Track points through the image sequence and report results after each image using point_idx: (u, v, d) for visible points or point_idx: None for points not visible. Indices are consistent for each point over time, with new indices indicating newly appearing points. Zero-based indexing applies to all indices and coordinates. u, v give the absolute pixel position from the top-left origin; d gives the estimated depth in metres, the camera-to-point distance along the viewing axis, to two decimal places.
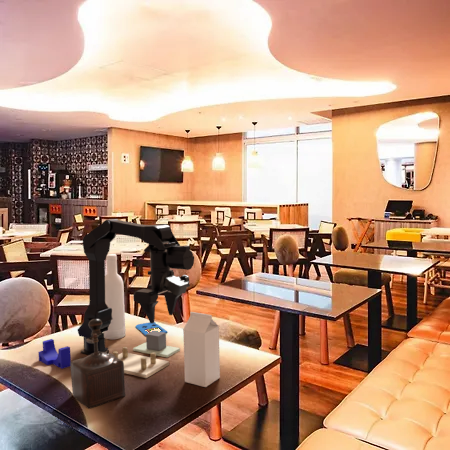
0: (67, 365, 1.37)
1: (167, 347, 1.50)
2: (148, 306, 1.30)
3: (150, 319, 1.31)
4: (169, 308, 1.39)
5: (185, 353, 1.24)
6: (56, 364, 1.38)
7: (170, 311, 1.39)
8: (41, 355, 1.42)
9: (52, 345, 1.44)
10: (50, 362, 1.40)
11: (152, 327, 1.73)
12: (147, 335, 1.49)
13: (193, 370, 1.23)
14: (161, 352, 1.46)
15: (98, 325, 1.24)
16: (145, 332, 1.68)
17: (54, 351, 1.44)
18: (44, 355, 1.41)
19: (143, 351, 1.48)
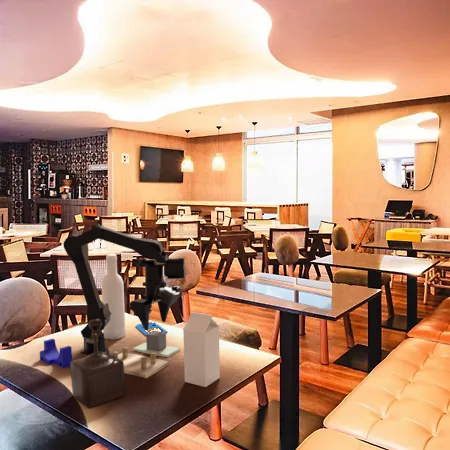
0: (68, 365, 1.38)
1: (167, 347, 1.50)
2: (143, 314, 1.44)
3: (144, 326, 1.45)
4: (162, 316, 1.53)
5: (185, 353, 1.24)
6: (57, 364, 1.39)
7: (163, 318, 1.53)
8: (42, 354, 1.42)
9: (53, 344, 1.45)
10: (51, 362, 1.40)
11: (152, 327, 1.73)
12: (147, 335, 1.49)
13: (193, 370, 1.23)
14: (161, 352, 1.46)
15: (98, 325, 1.24)
16: (145, 332, 1.68)
17: (55, 351, 1.44)
18: (45, 355, 1.42)
19: (143, 351, 1.48)
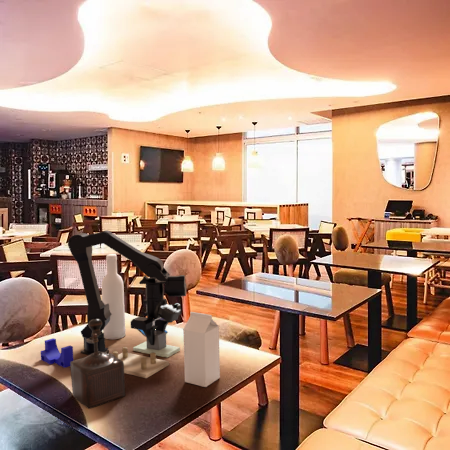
0: (70, 364, 1.38)
1: (167, 346, 1.50)
2: (148, 330, 1.47)
3: (150, 341, 1.47)
4: None
5: (185, 353, 1.24)
6: (59, 363, 1.39)
7: None
8: (43, 354, 1.42)
9: (54, 344, 1.45)
10: (52, 361, 1.40)
11: None
12: None
13: (193, 370, 1.23)
14: (161, 351, 1.46)
15: (98, 325, 1.24)
16: None
17: (56, 350, 1.44)
18: (46, 354, 1.42)
19: (143, 350, 1.48)
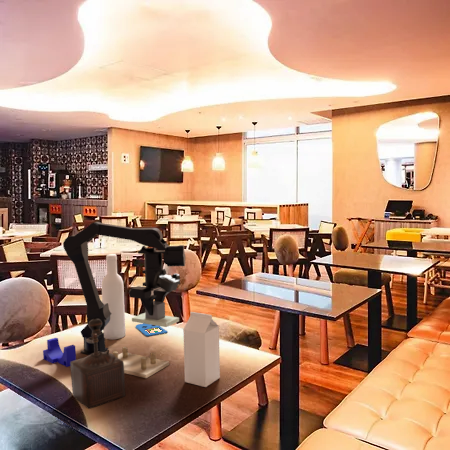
0: None
1: (166, 317, 1.49)
2: (147, 300, 1.46)
3: (149, 312, 1.46)
4: None
5: (185, 353, 1.24)
6: (61, 362, 1.40)
7: None
8: (46, 353, 1.43)
9: (56, 343, 1.46)
10: (55, 360, 1.41)
11: (152, 327, 1.73)
12: None
13: (193, 370, 1.23)
14: (160, 321, 1.45)
15: (98, 325, 1.24)
16: (145, 332, 1.68)
17: (59, 349, 1.45)
18: (49, 354, 1.42)
19: (142, 320, 1.47)
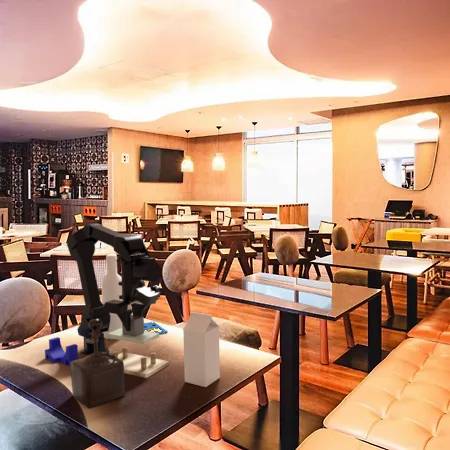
0: None
1: (145, 332, 1.37)
2: (124, 315, 1.33)
3: (126, 327, 1.34)
4: None
5: (185, 353, 1.24)
6: (63, 362, 1.40)
7: None
8: (48, 353, 1.43)
9: (58, 343, 1.46)
10: (57, 360, 1.42)
11: (152, 327, 1.73)
12: None
13: (193, 370, 1.23)
14: (138, 337, 1.33)
15: (98, 325, 1.24)
16: None
17: (60, 349, 1.46)
18: (51, 353, 1.43)
19: (118, 336, 1.35)
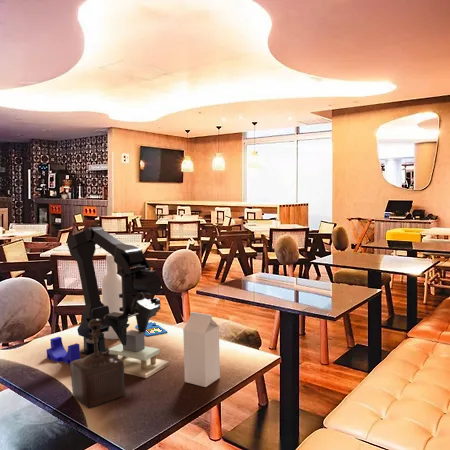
0: None
1: (146, 348, 1.37)
2: (120, 329, 1.32)
3: (122, 341, 1.33)
4: (140, 330, 1.40)
5: (185, 353, 1.24)
6: (65, 361, 1.41)
7: None
8: (50, 352, 1.44)
9: (60, 342, 1.47)
10: (59, 359, 1.42)
11: (152, 327, 1.73)
12: None
13: (193, 370, 1.23)
14: (138, 353, 1.33)
15: (98, 325, 1.24)
16: (145, 332, 1.68)
17: (62, 348, 1.46)
18: (53, 352, 1.43)
19: (119, 352, 1.35)
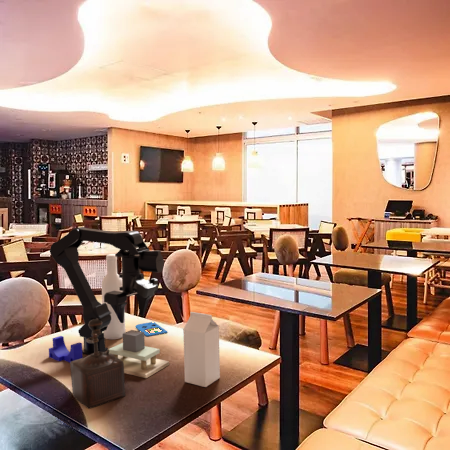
0: None
1: (146, 348, 1.37)
2: (118, 307, 1.40)
3: (120, 319, 1.40)
4: (140, 309, 1.49)
5: (185, 353, 1.24)
6: (68, 360, 1.41)
7: (141, 312, 1.48)
8: (52, 351, 1.44)
9: (62, 341, 1.47)
10: (61, 358, 1.43)
11: (152, 327, 1.73)
12: (123, 335, 1.36)
13: (193, 370, 1.23)
14: (138, 353, 1.33)
15: (98, 325, 1.24)
16: (145, 332, 1.68)
17: (64, 348, 1.47)
18: (55, 351, 1.44)
19: (119, 352, 1.35)
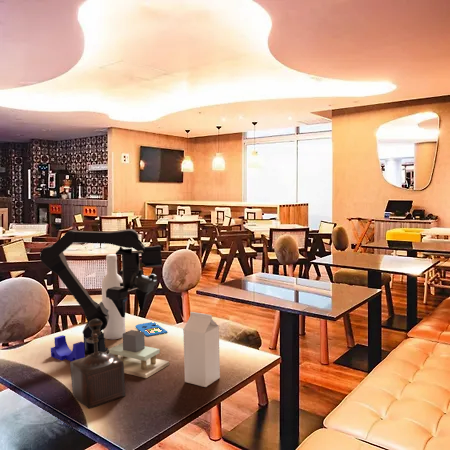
0: None
1: (146, 348, 1.37)
2: (119, 302, 1.46)
3: (121, 313, 1.47)
4: (140, 304, 1.55)
5: (185, 353, 1.24)
6: (70, 359, 1.42)
7: (141, 306, 1.55)
8: (54, 350, 1.45)
9: (64, 341, 1.48)
10: (64, 357, 1.43)
11: (152, 327, 1.73)
12: (123, 335, 1.36)
13: (193, 370, 1.23)
14: (138, 353, 1.33)
15: (98, 325, 1.24)
16: (145, 332, 1.68)
17: (66, 347, 1.47)
18: (57, 351, 1.45)
19: (119, 352, 1.35)
